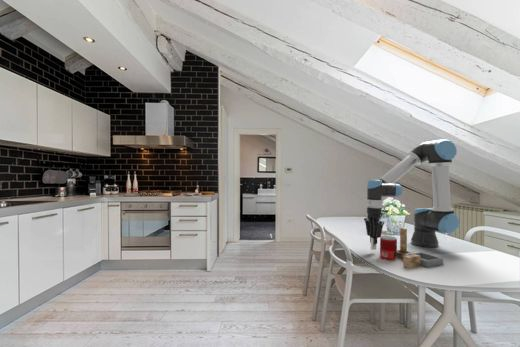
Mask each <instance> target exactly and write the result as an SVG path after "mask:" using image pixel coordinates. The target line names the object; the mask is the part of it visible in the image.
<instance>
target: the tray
mask: <svg viewBox="0 0 520 347" xmlns="http://www.w3.org/2000/svg"><path fill="white" fill-rule="evenodd" d="M413 254H416V255H419V256H421V266H422V267H424V268H432V267H437V266H442V265H444V258H442V257H439V256H436V255H432V254H429V253H425V252H421V251H419V252H413V253H412V254H405V256H407V255H413ZM421 266H420V267H421Z"/></svg>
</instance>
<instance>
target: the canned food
mask: <svg viewBox="0 0 520 347" xmlns="http://www.w3.org/2000/svg"><path fill="white" fill-rule="evenodd" d="M379 240H380V241H379V256H380V258H381V259H383V260H385V259H386V260H387V261H396V260H397V258H398V257H397V250H398V238H397V237H395V236H392V235H391V236H390V235H381V237H380V239H379ZM386 260H385V261H386Z"/></svg>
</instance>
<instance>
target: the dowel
mask: <svg viewBox="0 0 520 347" xmlns="http://www.w3.org/2000/svg"><path fill="white" fill-rule="evenodd" d="M399 231H400V233H399V234H400V238H399V245H400V246H399V250H400V252H401V253H407V251H408V228H405V227H400V229H399Z"/></svg>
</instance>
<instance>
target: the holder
mask: <svg viewBox="0 0 520 347" xmlns="http://www.w3.org/2000/svg"><path fill="white" fill-rule="evenodd" d="M412 253H414V251H413V252H412V251H409V250H407V253H401V252H400V249H397V258H399V259H402V260H403V256H405V254H412Z"/></svg>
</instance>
